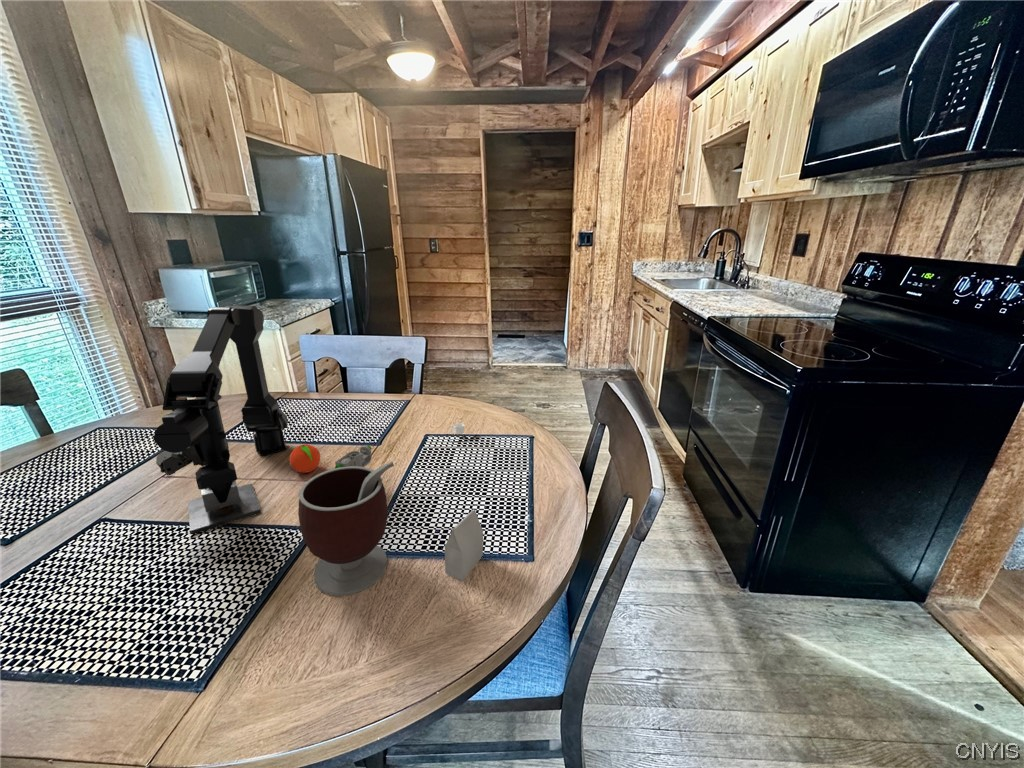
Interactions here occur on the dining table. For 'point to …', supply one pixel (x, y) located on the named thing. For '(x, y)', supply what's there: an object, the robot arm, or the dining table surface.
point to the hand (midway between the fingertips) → (221, 494)
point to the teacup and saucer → (458, 428)
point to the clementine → (304, 458)
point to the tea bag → (464, 547)
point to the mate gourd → (345, 527)
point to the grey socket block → (223, 511)
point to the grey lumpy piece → (355, 458)
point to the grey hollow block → (213, 502)
